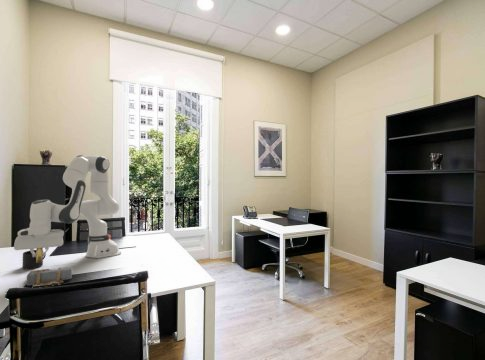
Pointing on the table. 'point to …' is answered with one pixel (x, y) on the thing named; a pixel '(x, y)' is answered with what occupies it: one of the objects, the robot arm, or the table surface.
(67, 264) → the table surface
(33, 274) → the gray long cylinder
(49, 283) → the peg rack
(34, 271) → the tan lumpy piece
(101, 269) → the table surface
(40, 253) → the pin
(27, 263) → the mug
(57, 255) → the table surface
